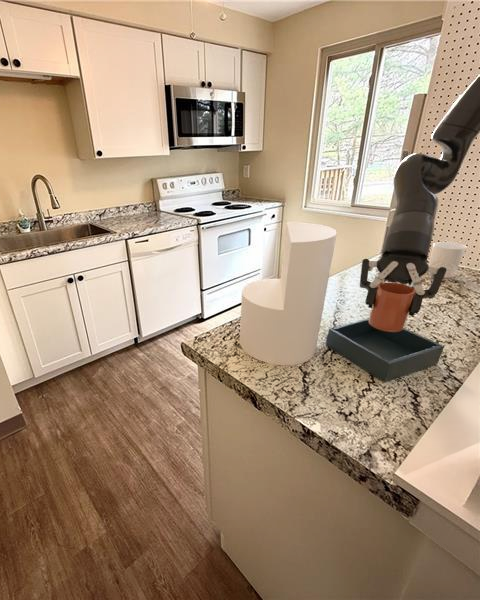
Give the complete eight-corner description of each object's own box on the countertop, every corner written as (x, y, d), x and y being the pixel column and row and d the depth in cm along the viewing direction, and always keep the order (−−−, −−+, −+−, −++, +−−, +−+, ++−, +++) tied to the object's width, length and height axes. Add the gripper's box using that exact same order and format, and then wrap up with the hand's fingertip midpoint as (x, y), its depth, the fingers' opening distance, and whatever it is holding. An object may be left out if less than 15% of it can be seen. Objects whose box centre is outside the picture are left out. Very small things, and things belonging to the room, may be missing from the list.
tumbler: (382, 315, 69) (392, 280, 66) (410, 328, 64) (423, 290, 60) (361, 321, 68) (370, 286, 64) (388, 334, 63) (399, 297, 59)
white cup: (454, 280, 98) (465, 250, 94) (422, 275, 103) (431, 246, 99) (457, 273, 102) (468, 243, 98) (426, 268, 108) (435, 240, 104)
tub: (372, 331, 77) (377, 315, 75) (437, 364, 64) (444, 346, 62) (325, 345, 74) (328, 328, 72) (384, 382, 61) (389, 364, 59)
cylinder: (311, 329, 80) (329, 221, 68) (320, 370, 66) (345, 242, 54) (241, 323, 86) (247, 222, 74) (236, 359, 72) (242, 242, 60)
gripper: (368, 226, 67) (349, 296, 64) (460, 231, 59) (443, 312, 56) (366, 244, 73) (348, 308, 70) (448, 250, 65) (432, 324, 62)
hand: (390, 310), depth 63 cm, fingers closed on tumbler, 6 cm apart
